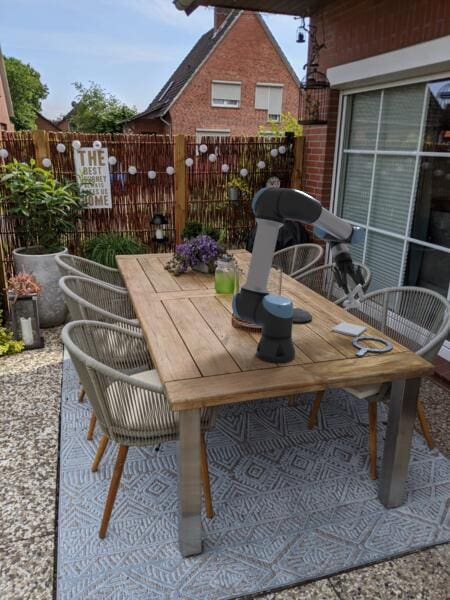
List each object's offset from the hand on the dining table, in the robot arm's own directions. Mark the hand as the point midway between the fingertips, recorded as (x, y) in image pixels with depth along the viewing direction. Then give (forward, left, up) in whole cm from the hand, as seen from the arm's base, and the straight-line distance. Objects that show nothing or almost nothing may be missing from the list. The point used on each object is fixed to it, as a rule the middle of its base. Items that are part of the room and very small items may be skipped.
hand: (357, 299), depth 195 cm
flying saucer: (+1, +30, -16) cm, 34 cm away
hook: (+2, +3, -4) cm, 5 cm away
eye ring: (-12, -11, -16) cm, 23 cm away
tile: (+2, +3, -16) cm, 16 cm away
